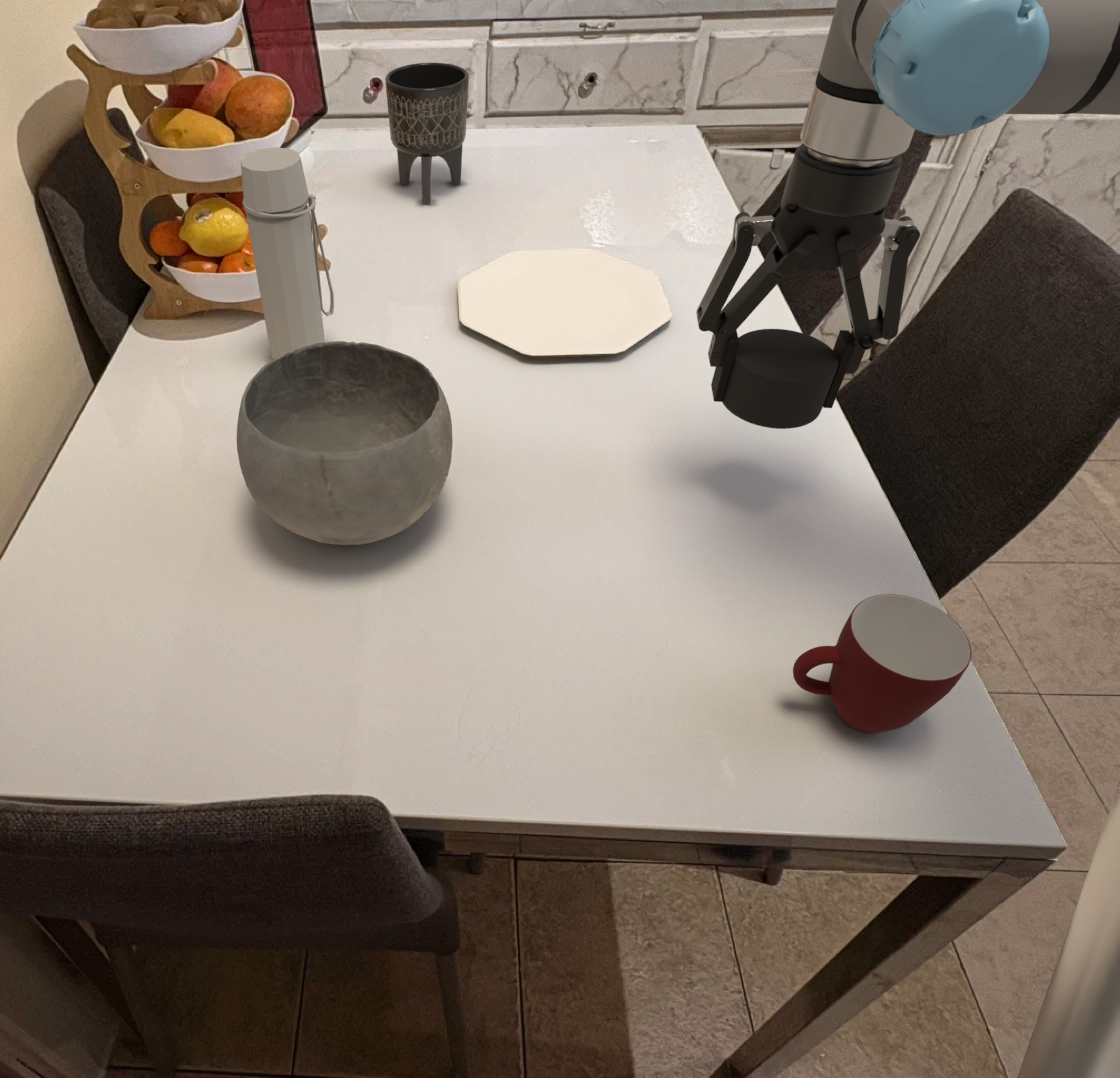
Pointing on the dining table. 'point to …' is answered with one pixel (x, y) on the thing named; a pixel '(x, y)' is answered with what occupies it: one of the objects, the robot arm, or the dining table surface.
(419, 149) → the planter
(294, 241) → the water bottle
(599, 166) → the dining table surface
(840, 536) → the dining table surface
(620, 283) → the plate
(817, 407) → the puck
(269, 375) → the bowl
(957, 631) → the mug
